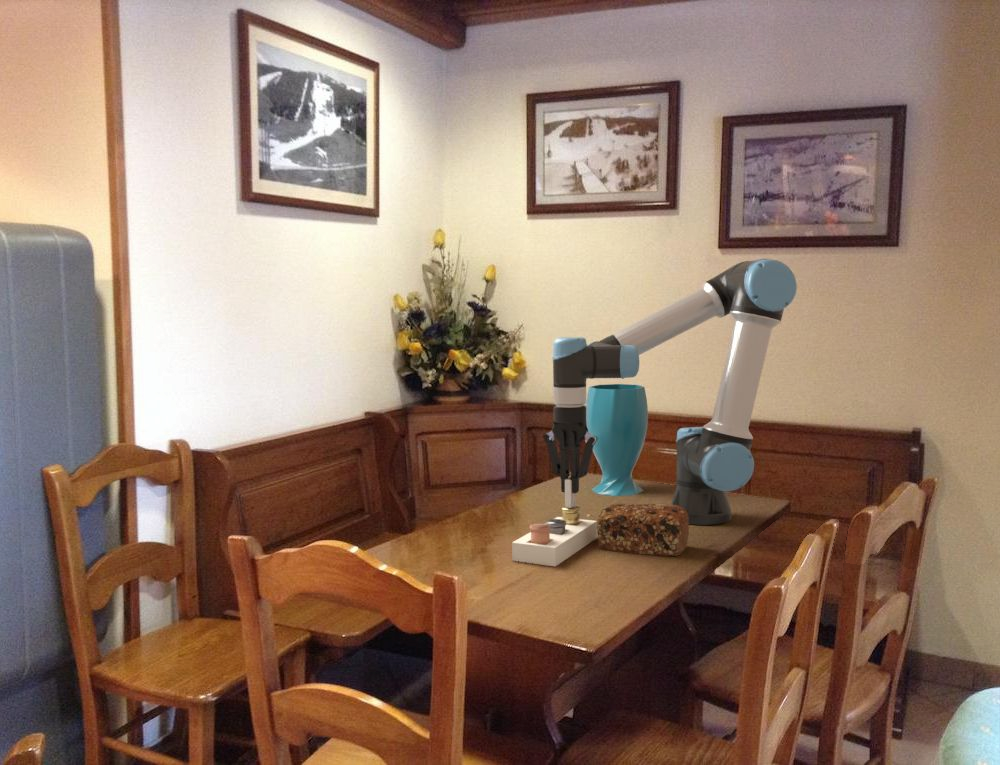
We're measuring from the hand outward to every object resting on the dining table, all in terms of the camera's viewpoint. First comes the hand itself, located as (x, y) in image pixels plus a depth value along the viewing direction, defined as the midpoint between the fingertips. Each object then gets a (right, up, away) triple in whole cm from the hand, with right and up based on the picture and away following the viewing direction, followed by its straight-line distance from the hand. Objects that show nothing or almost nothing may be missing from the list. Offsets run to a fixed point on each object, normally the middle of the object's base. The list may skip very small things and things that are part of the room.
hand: (570, 506), depth 204 cm
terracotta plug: (-8, -8, -14) cm, 18 cm away
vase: (+18, -3, +51) cm, 54 cm away
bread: (+16, -9, -7) cm, 19 cm away
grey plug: (-4, -8, -7) cm, 11 cm away
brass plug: (0, -6, +1) cm, 6 cm away
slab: (-4, -9, -7) cm, 11 cm away
